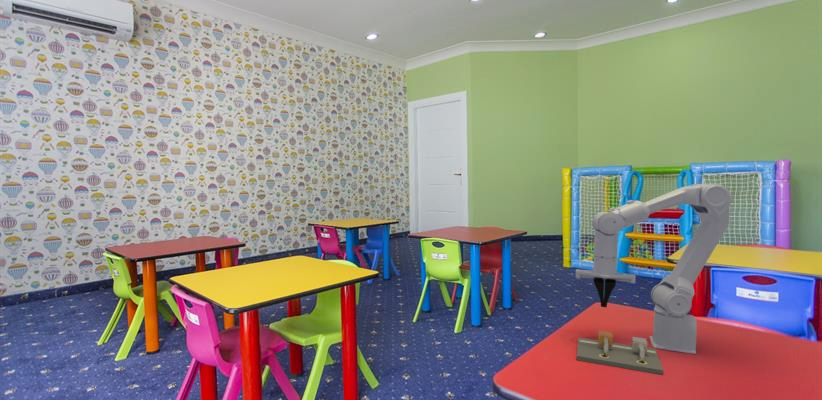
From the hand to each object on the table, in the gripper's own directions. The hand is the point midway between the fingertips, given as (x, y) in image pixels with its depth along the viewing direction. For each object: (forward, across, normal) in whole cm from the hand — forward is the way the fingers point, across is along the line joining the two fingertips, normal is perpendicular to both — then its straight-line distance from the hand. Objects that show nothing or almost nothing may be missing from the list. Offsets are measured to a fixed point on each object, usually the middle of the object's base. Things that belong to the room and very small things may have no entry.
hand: (603, 306), depth 112 cm
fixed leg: (+8, +8, -10) cm, 15 cm away
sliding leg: (+8, 0, -10) cm, 13 cm away
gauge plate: (+9, +3, -10) cm, 14 cm away
